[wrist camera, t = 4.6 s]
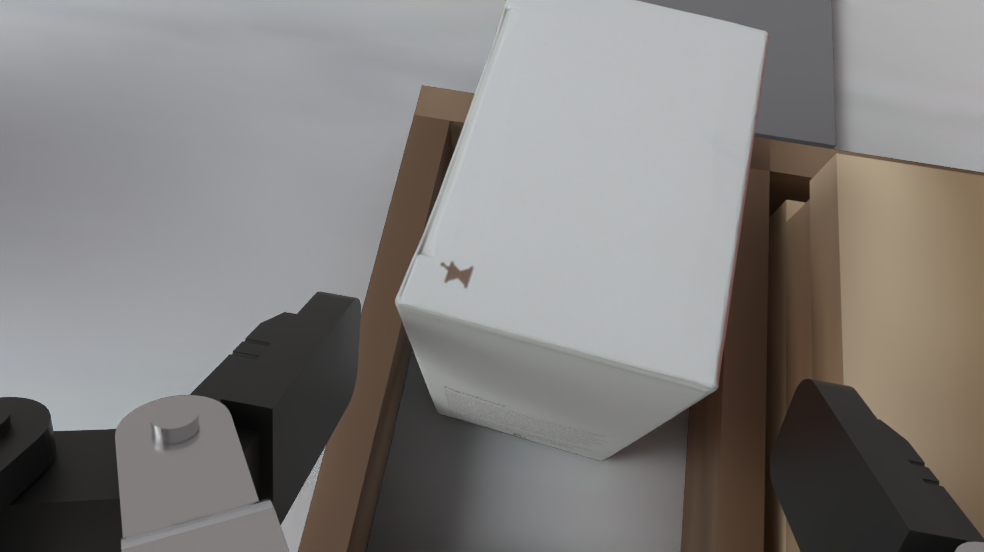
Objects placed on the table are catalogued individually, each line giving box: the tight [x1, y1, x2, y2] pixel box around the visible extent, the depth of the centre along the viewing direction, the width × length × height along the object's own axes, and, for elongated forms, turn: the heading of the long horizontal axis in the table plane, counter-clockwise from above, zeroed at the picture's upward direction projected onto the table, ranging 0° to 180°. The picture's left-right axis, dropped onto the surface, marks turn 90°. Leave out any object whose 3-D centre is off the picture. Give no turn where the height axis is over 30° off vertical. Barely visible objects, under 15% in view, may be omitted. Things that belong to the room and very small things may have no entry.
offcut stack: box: [764, 153, 984, 552], centre depth 18 cm, size 6×12×6 cm, turn 170°
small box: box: [395, 0, 770, 461], centre depth 16 cm, size 8×6×10 cm
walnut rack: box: [298, 85, 984, 552], centre depth 19 cm, size 20×16×3 cm
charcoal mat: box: [637, 0, 836, 149], centre depth 26 cm, size 12×9×1 cm
